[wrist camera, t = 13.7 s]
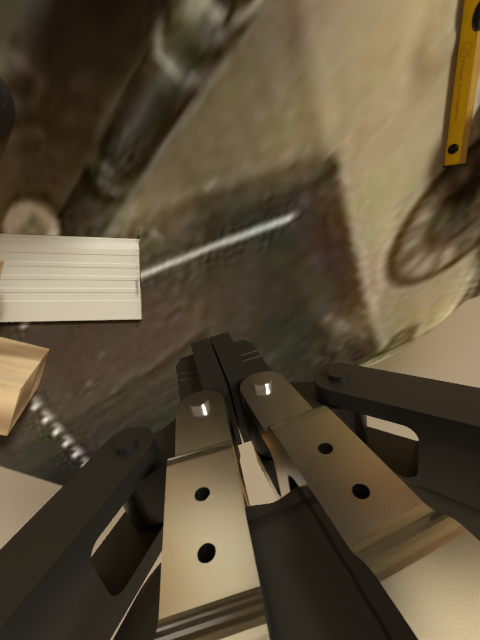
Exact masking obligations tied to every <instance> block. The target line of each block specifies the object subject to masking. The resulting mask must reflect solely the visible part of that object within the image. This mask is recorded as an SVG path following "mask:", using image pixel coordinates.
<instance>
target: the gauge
mask: <svg viewBox="0 0 480 640" xmlns="http://www.w3.org/2000/svg"><path fill="white" fill-rule="evenodd" d="M4 261H5V260H2V259H0V277H1V273H2V269H3V265H4ZM48 353H49V349H47V348H43V347H39V346H35V345H31V344H27V343H23V342H19V341H15V340H11V339H7V338H3V337H0V435H6V436H7V435H8V433H9V432H10V430H11V429H12V427H13V426H14V424H15V423H16V421H17V419H18V418H19V416H20V415H21V413H22V412H23V410H24V408H25V407H26V405H27V404H28V402H29V401H30V399H31V398H32V396H33V394H34V393H35V391H36V390H37V388H38V386H39V382H40V379H41V376H42V372H43V369H44V366H45V363H46V359H47V356H48Z"/></svg>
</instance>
